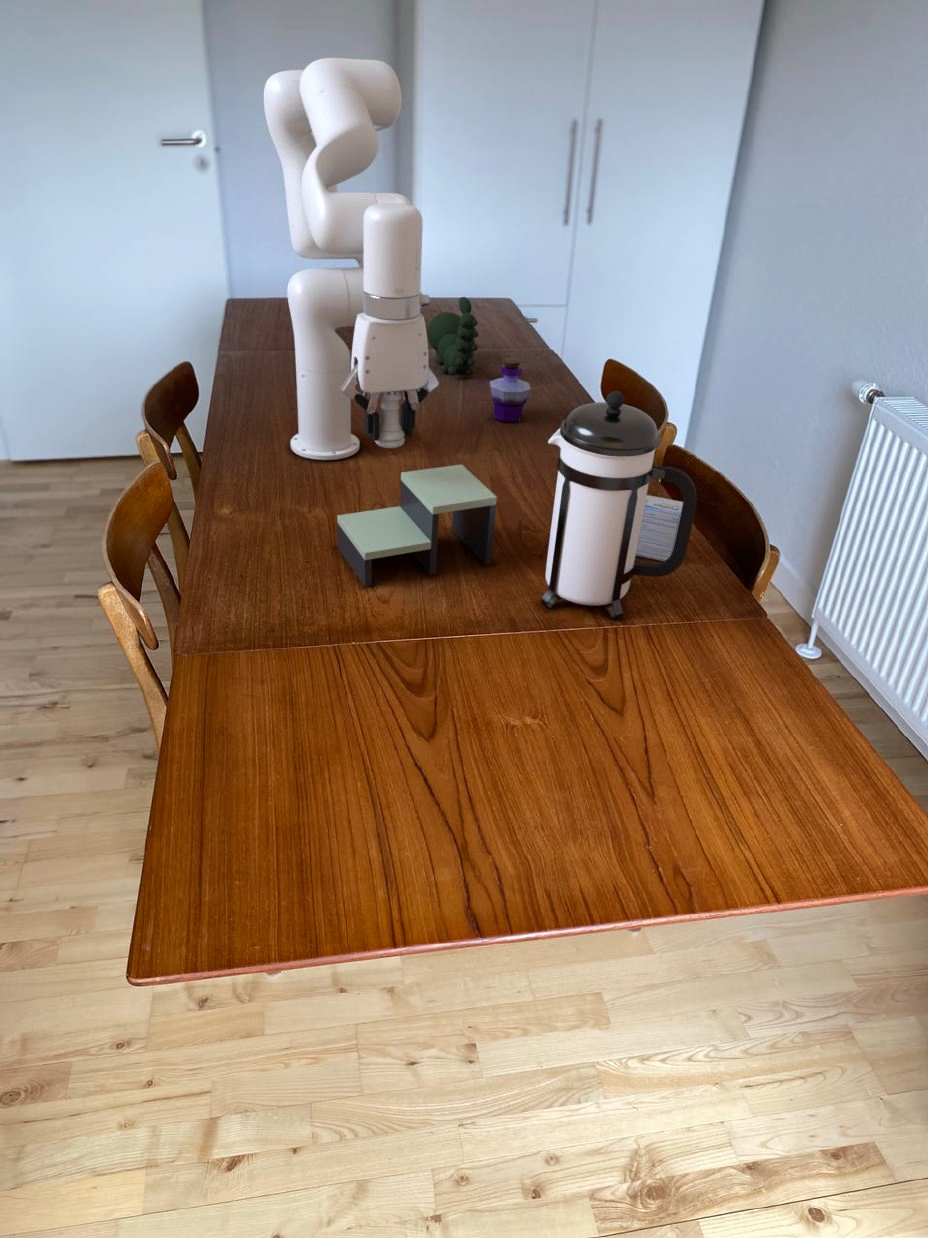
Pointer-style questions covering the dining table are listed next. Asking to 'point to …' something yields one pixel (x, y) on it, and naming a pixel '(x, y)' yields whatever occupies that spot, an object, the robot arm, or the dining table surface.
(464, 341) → the toy figurine
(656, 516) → the medicine box
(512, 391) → the potion bottle
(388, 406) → the rook chess piece
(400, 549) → the rack
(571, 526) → the coffee press
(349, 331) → the dining table surface
